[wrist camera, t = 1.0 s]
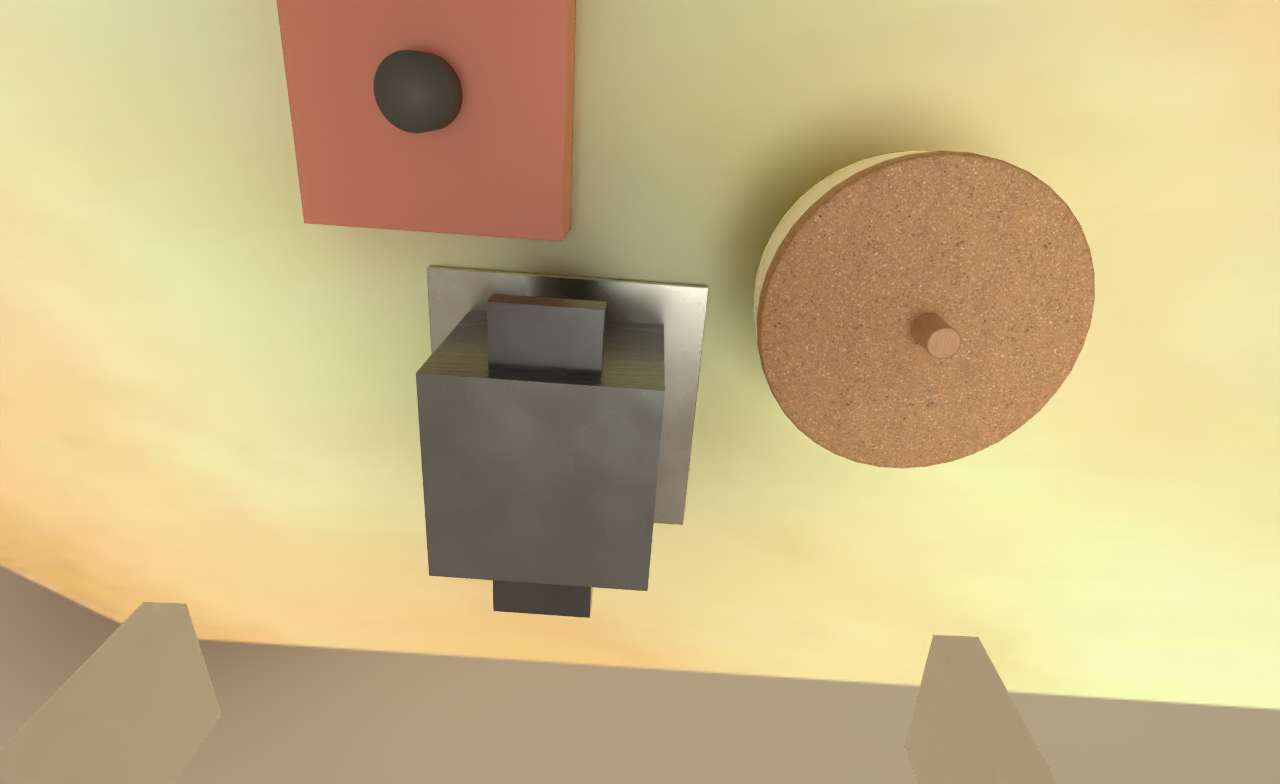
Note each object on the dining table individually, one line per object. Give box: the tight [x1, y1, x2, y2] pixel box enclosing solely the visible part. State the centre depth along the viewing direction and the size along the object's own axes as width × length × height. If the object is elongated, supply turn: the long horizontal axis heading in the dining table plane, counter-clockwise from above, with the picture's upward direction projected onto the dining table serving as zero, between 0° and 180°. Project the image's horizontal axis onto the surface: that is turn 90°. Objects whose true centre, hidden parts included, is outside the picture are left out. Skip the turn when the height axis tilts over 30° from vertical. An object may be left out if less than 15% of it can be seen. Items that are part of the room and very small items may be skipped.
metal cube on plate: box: [416, 266, 708, 618], centre depth 29 cm, size 13×12×8 cm
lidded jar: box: [753, 150, 1095, 468], centre depth 26 cm, size 11×11×9 cm
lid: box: [277, 0, 576, 241], centre depth 26 cm, size 10×10×5 cm
